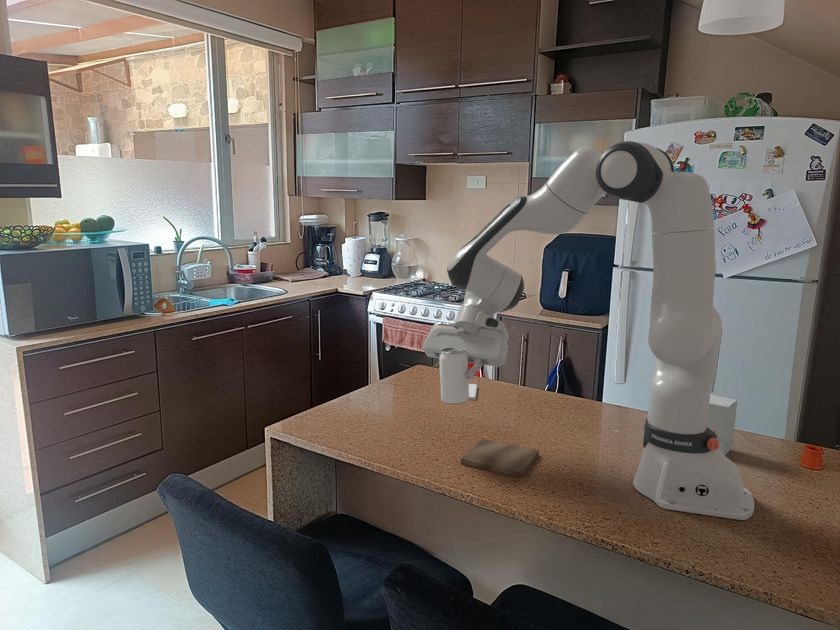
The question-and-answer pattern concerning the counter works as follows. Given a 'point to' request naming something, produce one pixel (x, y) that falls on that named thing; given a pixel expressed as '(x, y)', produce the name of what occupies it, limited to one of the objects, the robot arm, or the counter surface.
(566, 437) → the counter surface
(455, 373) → the can
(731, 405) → the supplement box
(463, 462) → the walnut board
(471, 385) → the external hard drive
